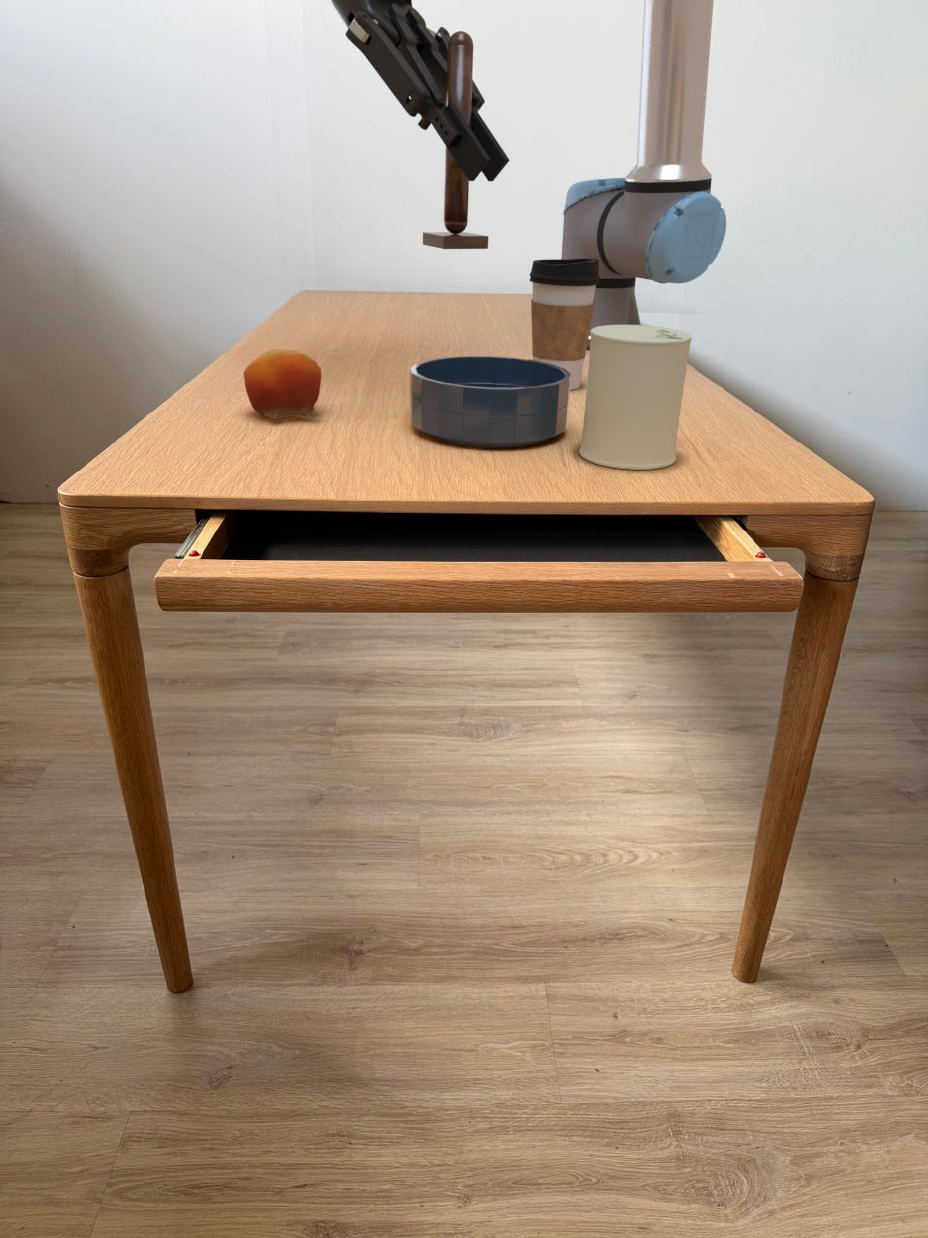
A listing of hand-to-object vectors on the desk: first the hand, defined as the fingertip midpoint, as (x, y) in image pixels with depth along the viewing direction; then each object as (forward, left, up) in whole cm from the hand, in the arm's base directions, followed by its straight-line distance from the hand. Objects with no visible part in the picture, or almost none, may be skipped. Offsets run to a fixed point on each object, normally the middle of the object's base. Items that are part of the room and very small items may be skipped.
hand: (489, 169), depth 88 cm
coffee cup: (-12, -18, -25) cm, 33 cm away
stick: (+3, -3, -7) cm, 8 cm away
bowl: (0, +3, -24) cm, 25 cm away
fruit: (+21, -3, -25) cm, 32 cm away
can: (-12, +14, -25) cm, 31 cm away
